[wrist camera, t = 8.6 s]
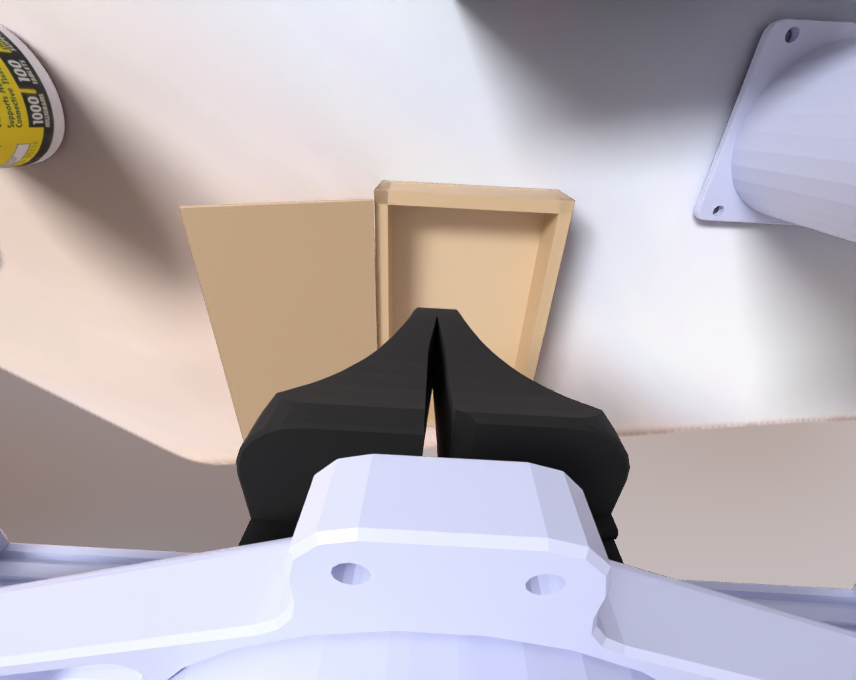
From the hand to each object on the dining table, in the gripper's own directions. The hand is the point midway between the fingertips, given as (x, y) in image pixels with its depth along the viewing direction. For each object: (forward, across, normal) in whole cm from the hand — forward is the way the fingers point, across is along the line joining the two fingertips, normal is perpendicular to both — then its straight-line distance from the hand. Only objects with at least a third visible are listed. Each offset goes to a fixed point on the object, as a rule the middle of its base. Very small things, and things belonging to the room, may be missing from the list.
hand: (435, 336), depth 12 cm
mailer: (+10, -2, +4) cm, 11 cm away
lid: (+6, +6, +4) cm, 9 cm away
